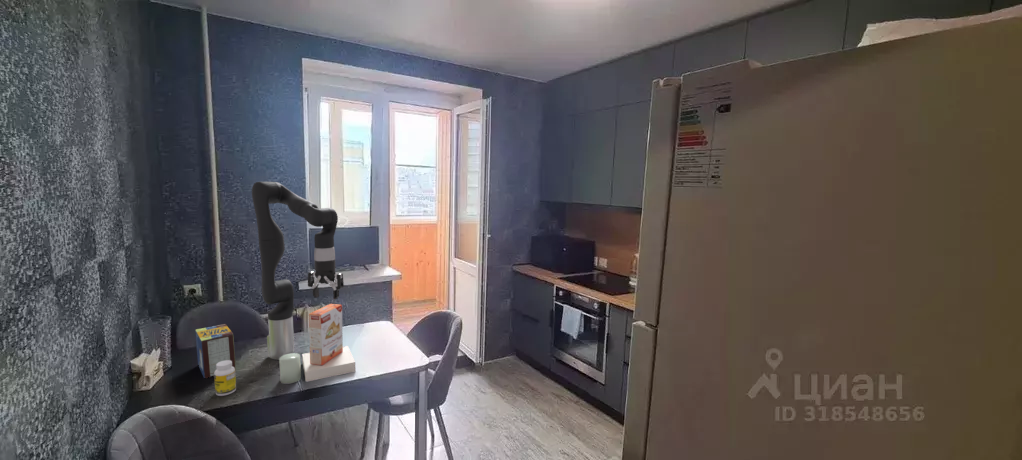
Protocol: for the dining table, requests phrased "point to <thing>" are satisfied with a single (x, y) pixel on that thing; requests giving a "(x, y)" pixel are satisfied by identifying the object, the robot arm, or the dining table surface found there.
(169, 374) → the dining table surface
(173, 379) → the dining table surface
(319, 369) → the block
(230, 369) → the pill bottle
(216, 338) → the protein box
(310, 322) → the cracker box
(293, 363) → the pale green rounded block
